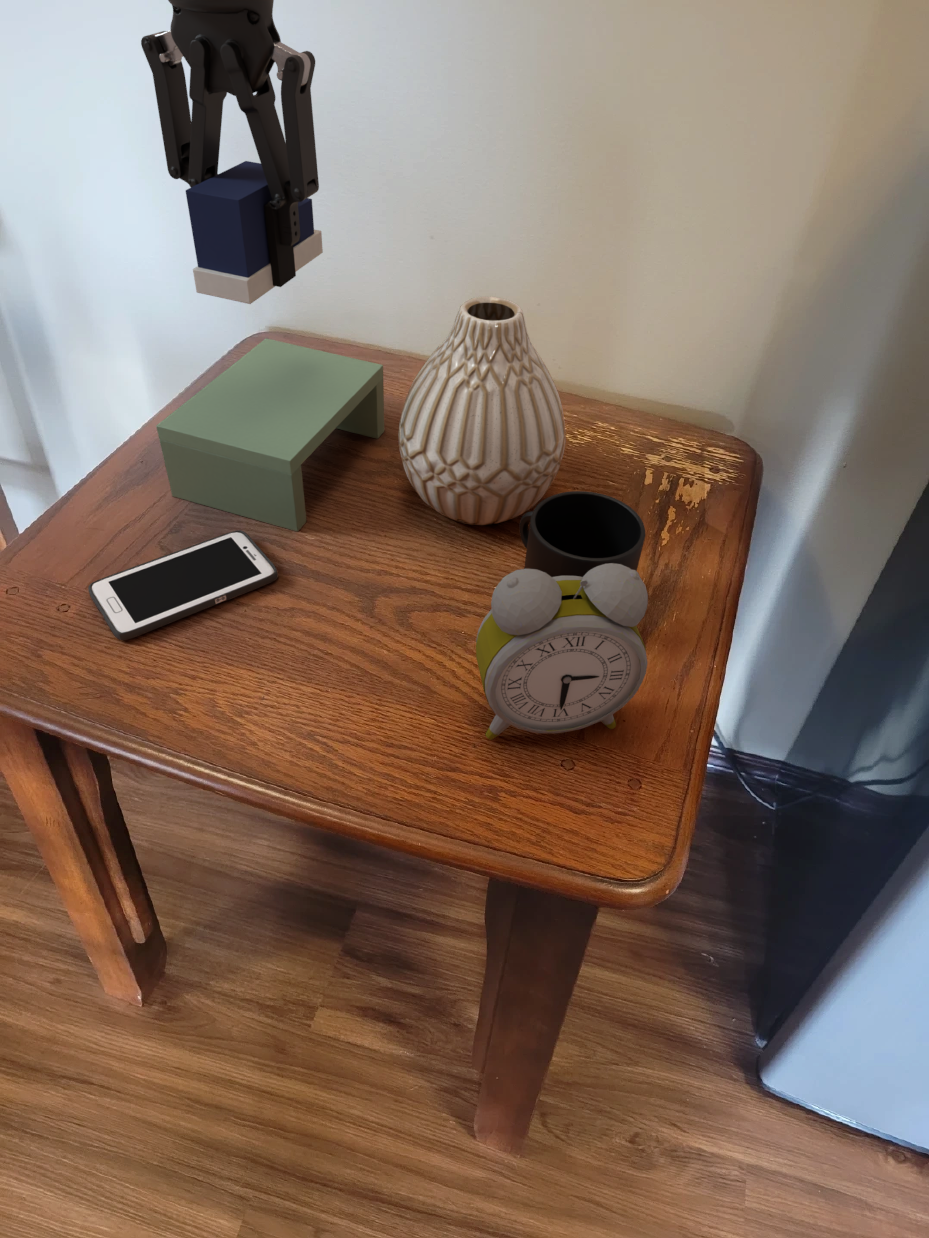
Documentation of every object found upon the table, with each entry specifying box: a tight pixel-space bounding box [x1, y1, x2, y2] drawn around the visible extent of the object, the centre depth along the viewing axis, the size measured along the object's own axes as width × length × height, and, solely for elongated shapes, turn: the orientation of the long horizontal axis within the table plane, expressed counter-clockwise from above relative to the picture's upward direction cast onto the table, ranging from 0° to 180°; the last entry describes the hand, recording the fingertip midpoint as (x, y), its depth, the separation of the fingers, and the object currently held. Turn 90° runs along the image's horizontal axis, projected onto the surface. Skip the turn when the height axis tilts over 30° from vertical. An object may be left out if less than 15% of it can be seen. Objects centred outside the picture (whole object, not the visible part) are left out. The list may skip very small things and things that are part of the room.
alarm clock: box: [475, 563, 649, 741], centre depth 61 cm, size 12×7×15 cm, turn 99°
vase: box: [397, 295, 567, 526], centre depth 79 cm, size 16×16×20 cm
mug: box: [518, 490, 646, 577], centre depth 73 cm, size 9×12×9 cm
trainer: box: [185, 160, 324, 305], centre depth 73 cm, size 13×5×8 cm, turn 159°
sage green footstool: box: [155, 338, 385, 532], centre depth 87 cm, size 14×20×8 cm
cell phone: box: [87, 529, 279, 641], centre depth 74 cm, size 8×15×1 cm, turn 127°
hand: (254, 274), depth 75 cm, fingers closed on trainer, 5 cm apart
